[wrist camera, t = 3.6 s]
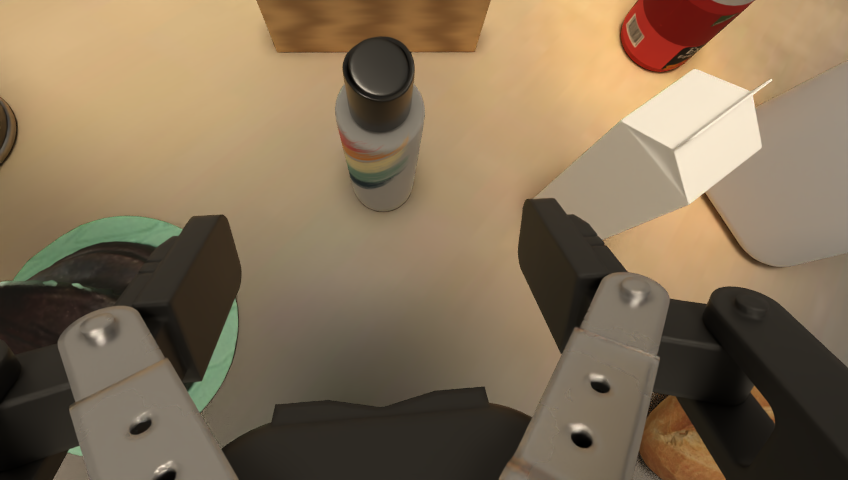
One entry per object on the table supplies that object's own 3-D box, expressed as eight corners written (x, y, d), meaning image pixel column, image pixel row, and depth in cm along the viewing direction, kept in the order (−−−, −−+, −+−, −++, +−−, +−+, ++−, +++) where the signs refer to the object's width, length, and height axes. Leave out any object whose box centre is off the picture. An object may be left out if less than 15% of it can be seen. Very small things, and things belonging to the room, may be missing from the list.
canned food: (667, 87, 47) (750, 17, 37) (604, 45, 48) (667, -37, 37) (700, 37, 49) (788, -45, 38) (638, -4, 49) (709, -97, 38)
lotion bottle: (388, 144, 44) (388, -5, 24) (424, 189, 43) (455, 73, 23) (340, 178, 43) (300, 50, 23) (377, 224, 42) (367, 134, 22)
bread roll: (612, 388, 41) (666, 403, 33) (758, 352, 42) (842, 358, 35) (643, 500, 39) (707, 544, 31) (794, 459, 41) (890, 490, 33)
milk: (604, 223, 44) (818, 124, 22) (558, 258, 43) (736, 190, 21) (566, 174, 44) (738, 31, 23) (519, 207, 43) (654, 90, 22)
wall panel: (273, 55, 44) (244, -15, 35) (273, 31, 45) (245, -43, 36) (477, 54, 46) (499, -12, 37) (475, 32, 47) (496, -39, 38)
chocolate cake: (-32, 489, 34) (-29, 239, 38) (227, 422, 45) (209, 231, 49) (-113, 539, 22) (-96, 169, 26) (266, 431, 33) (237, 179, 37)
